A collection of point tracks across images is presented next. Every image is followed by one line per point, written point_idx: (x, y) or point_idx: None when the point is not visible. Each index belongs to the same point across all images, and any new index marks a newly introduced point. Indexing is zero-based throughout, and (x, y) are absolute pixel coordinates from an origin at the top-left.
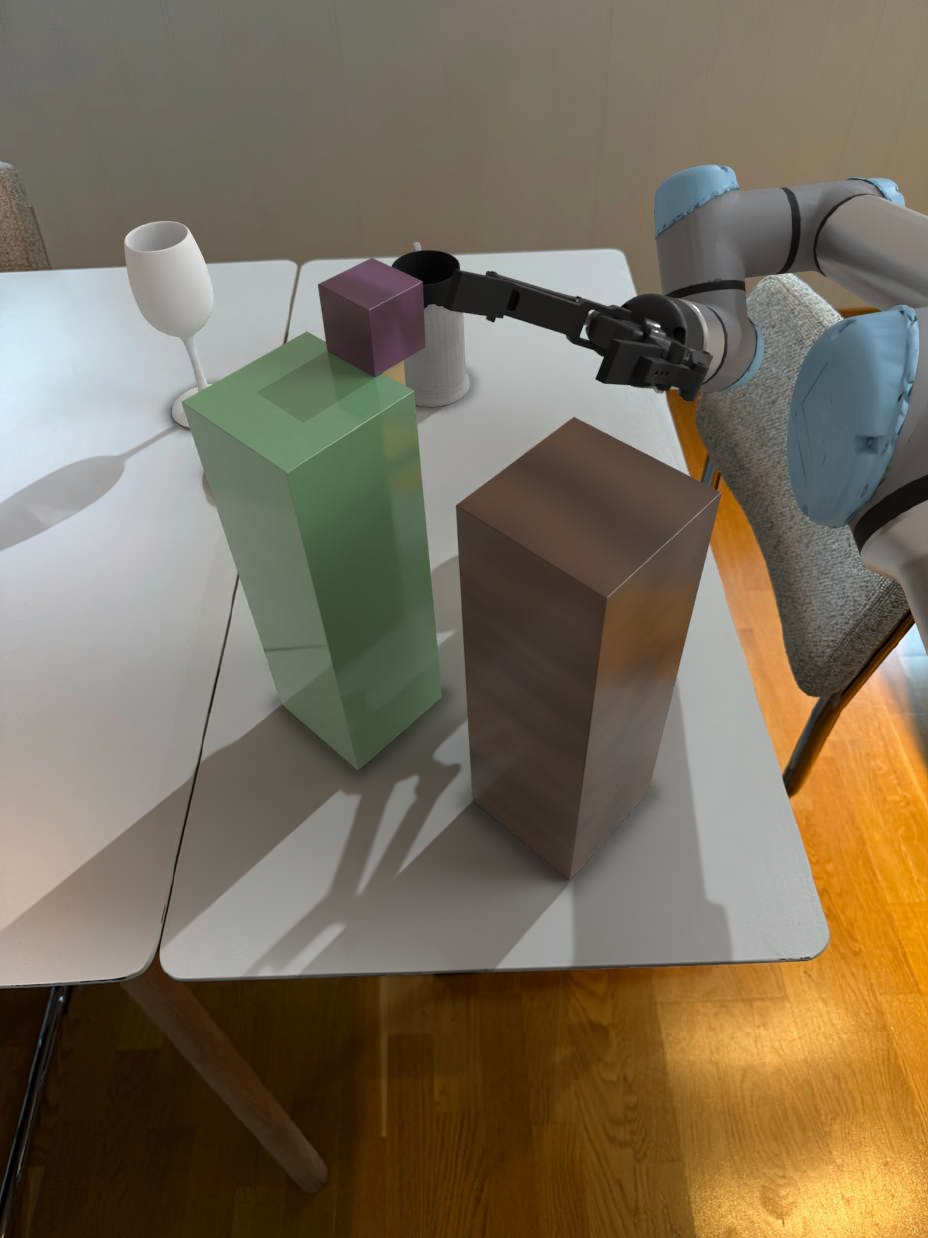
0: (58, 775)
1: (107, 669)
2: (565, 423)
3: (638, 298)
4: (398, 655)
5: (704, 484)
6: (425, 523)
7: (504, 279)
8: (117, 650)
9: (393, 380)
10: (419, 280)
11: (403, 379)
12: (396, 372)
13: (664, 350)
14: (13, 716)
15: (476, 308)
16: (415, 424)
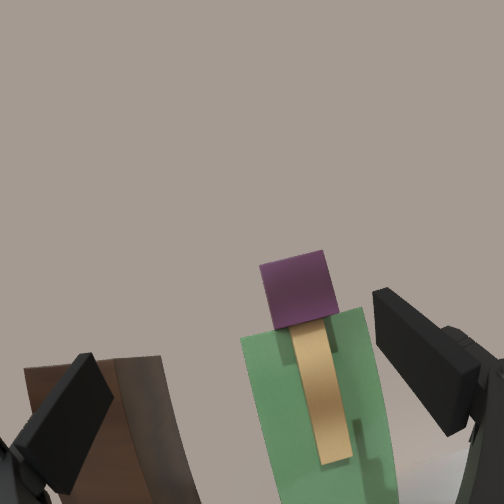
0: (398, 474)
1: (451, 475)
2: (118, 358)
3: None
4: None
5: (31, 367)
6: (271, 464)
7: (471, 357)
8: (462, 475)
9: (260, 333)
10: (262, 264)
11: (297, 357)
12: (293, 345)
13: (15, 446)
14: (438, 457)
15: (403, 370)
16: (247, 368)
